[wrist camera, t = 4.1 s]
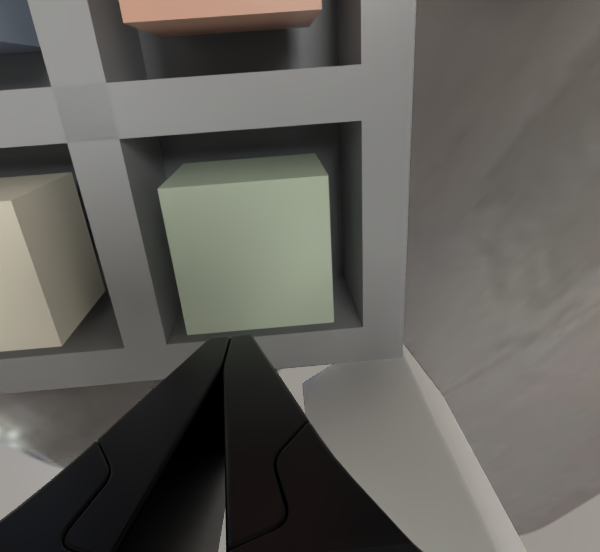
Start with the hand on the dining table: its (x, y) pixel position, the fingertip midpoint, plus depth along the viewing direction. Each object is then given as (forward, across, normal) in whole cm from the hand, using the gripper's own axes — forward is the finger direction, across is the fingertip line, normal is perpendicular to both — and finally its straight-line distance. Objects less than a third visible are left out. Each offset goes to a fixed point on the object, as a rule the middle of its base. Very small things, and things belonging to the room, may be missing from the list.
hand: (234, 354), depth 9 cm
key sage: (+10, 0, 0) cm, 10 cm away
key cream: (+10, +9, 0) cm, 13 cm away
